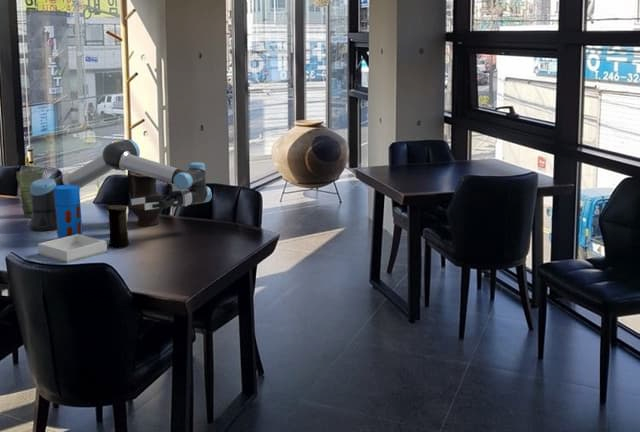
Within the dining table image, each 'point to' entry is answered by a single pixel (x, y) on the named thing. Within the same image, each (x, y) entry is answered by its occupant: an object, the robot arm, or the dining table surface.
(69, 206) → the thermos
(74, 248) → the white bin
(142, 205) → the jug
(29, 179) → the green ribbed vase
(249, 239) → the dining table surface
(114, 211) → the container
